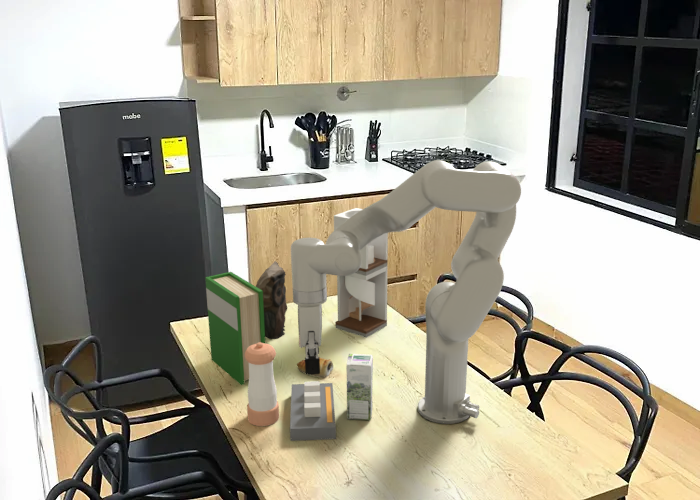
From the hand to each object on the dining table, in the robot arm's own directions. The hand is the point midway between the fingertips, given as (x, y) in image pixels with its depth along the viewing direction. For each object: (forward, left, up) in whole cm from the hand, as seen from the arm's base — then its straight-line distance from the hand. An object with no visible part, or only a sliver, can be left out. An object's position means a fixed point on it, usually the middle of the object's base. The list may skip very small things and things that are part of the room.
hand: (312, 363), depth 163 cm
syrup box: (-8, -7, -14) cm, 17 cm away
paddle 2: (-3, +4, -10) cm, 11 cm away
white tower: (+22, -47, -14) cm, 54 cm away
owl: (+43, -28, -14) cm, 53 cm away
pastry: (+14, -17, -14) cm, 26 cm away
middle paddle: (0, 0, -10) cm, 10 cm away
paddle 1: (+4, -3, -10) cm, 11 cm away
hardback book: (+32, -6, -14) cm, 35 cm away
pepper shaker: (+9, +8, -14) cm, 18 cm away
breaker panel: (0, 0, -14) cm, 14 cm away
